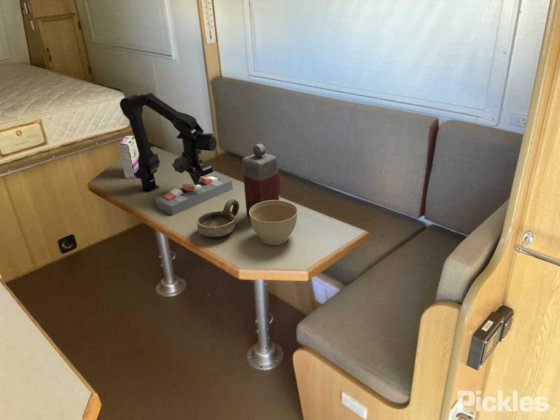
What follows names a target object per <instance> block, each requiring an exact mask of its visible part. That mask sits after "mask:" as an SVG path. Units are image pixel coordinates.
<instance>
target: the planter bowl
mask: <svg viewBox="0 0 560 420" xmlns="http://www.w3.org/2000/svg"><path fill="white" fill-rule="evenodd" d="M298 212H299V209H298V207H297V205H295V204H294V203H292V202H290V201H286V200H281V199H279V200H269V201H264V202H260V203H257V204H255V205H254V206H253V207H251V209H250V211H249V215H250V217H249V218H250V223H251V226H252V228H253V230H254V232H255V233H256V234H257V235H258V237H259V238H260V241H261V242H262V243H263V244H265V245H269V246H279V245H283V244H285V243H286V242H287V241H288V240H289V238H290V236H291V235H292V233H293V232H294V230H295V228H296V226H297V225H296V224H297V221H298V215H299V214H298Z"/></svg>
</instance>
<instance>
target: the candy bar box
mask: <svg viewBox="0 0 560 420" xmlns="http://www.w3.org/2000/svg"><path fill="white" fill-rule="evenodd" d="M117 148H118V151H119V156H120V160H121V166H122V169H123V174H124V178H125V179H135V178H136V176H135V173H136V171H137V170H138V169H139V166H138V158H139V151H138V148H137V145H136V141H135V138H134V135H126V136H123V138H122V139H121V141H119V142H118V144H117ZM136 179H137V178H136Z"/></svg>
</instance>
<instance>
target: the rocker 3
mask: <svg viewBox="0 0 560 420" xmlns="http://www.w3.org/2000/svg"><path fill="white" fill-rule="evenodd" d="M217 180H218V178H215V177H209V176H201V177H200V182H203V183H205V184H210V183H213V182H215V181H217Z"/></svg>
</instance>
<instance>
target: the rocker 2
mask: <svg viewBox="0 0 560 420" xmlns="http://www.w3.org/2000/svg"><path fill="white" fill-rule="evenodd" d="M181 188H183V189H185V190H187V191H193V190H196V189H198V188H201V186H200V185H195V184H192V183H183V184H182V187H181Z"/></svg>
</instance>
